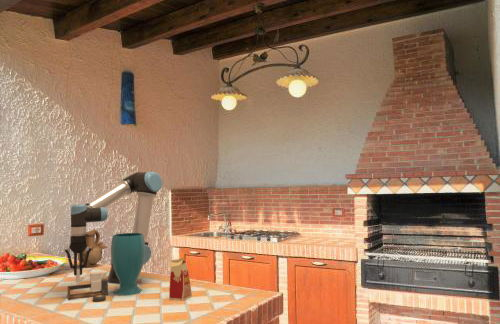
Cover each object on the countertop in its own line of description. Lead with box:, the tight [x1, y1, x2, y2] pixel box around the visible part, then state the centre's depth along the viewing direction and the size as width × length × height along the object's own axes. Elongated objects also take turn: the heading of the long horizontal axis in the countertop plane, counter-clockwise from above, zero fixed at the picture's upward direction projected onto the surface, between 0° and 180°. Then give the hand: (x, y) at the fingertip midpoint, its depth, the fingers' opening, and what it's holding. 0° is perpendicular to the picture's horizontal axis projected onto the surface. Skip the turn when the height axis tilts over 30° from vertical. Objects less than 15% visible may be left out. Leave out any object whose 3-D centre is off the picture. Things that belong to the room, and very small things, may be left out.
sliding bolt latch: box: [66, 278, 109, 301], centre depth 228 cm, size 19×7×7 cm, turn 116°
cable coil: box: [92, 295, 107, 303], centre depth 219 cm, size 6×6×2 cm
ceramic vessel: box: [77, 228, 108, 268], centre depth 309 cm, size 18×19×25 cm
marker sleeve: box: [89, 271, 102, 292], centre depth 230 cm, size 5×4×8 cm
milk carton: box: [168, 257, 193, 301], centre depth 222 cm, size 9×9×20 cm
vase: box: [110, 232, 145, 296], centre depth 236 cm, size 17×17×30 cm
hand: (77, 281), depth 226 cm, fingers closed
